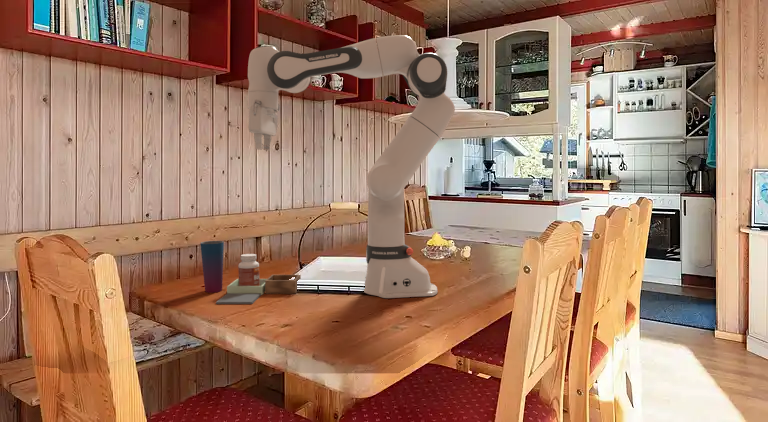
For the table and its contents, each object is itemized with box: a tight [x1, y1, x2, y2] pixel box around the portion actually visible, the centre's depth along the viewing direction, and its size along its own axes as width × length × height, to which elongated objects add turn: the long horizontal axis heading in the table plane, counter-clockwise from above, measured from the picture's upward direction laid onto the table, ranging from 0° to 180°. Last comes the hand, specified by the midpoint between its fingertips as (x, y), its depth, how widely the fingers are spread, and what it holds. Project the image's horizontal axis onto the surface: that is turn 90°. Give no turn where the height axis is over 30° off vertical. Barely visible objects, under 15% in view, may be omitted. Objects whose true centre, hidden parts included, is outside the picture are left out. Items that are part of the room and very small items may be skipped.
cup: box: [199, 240, 225, 294], centre depth 163 cm, size 7×7×15 cm
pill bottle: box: [237, 253, 261, 286], centre depth 163 cm, size 6×6×11 cm
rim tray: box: [226, 278, 268, 296], centre depth 163 cm, size 10×10×2 cm
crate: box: [264, 274, 302, 295], centre depth 163 cm, size 9×9×4 cm
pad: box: [215, 292, 262, 305], centre depth 153 cm, size 10×10×1 cm
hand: (263, 150), depth 159 cm, fingers open, 8 cm apart
